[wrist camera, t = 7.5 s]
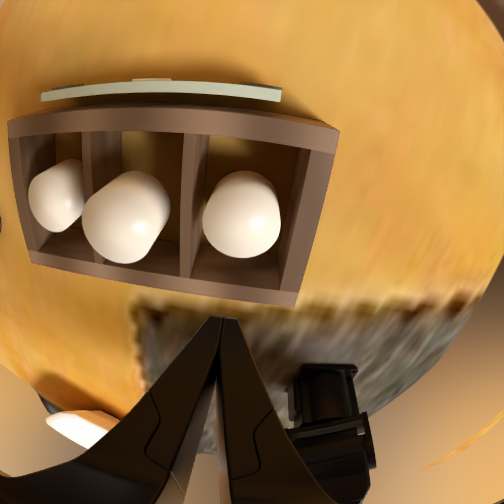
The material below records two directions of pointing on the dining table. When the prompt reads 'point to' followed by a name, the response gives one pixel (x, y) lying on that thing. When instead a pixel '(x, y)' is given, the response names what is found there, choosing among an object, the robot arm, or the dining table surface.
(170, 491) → the robot arm
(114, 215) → the button mid
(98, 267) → the brown compartment tray
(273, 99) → the card
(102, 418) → the bowl
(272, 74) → the dining table surface
